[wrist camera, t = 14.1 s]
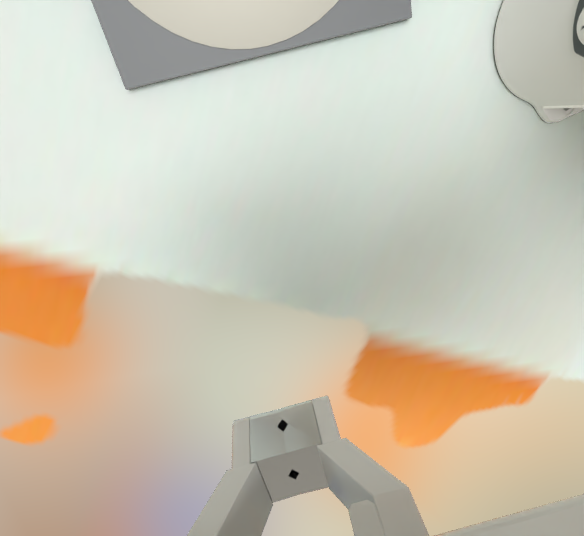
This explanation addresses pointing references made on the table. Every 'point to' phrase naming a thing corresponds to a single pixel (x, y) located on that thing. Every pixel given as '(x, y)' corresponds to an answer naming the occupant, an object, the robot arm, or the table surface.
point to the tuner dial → (225, 31)
